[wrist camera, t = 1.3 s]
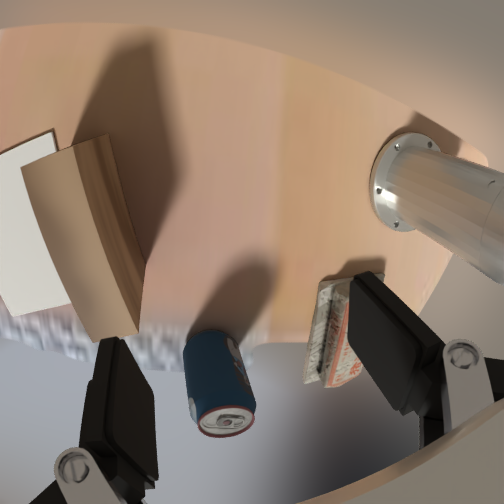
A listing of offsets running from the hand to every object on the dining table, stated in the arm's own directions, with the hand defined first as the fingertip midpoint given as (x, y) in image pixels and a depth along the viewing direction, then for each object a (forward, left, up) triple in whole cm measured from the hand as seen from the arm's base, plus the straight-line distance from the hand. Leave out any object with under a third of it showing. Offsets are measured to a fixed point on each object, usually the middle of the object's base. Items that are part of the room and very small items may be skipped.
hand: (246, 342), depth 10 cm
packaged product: (-15, +24, -22) cm, 36 cm away
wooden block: (+9, 0, -22) cm, 24 cm away
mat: (+20, 0, -22) cm, 29 cm away
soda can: (+3, +20, -22) cm, 30 cm away
